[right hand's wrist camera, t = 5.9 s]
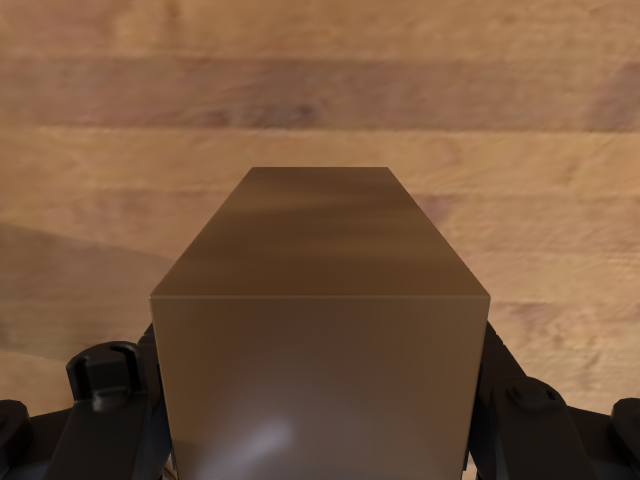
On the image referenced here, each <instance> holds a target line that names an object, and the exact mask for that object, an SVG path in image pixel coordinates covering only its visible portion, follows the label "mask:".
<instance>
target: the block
mask: <svg viewBox="0 0 640 480" xmlns="http://www.w3.org/2000/svg"><path fill="white" fill-rule="evenodd" d="M490 299H491V297H490V295H489V293H488V292H487V291H486V290H485V288H484V287H483V286H482V285H481V283H480V282H479V281H478V280H477V278H476V277H475V276H474V275H473V273H472V272H471V271H470V270H469V268H468V267H467V266H466V265H465V263H464V262H463V261H462V260H461V258H460V257H459V256H458V255H457V253H456V252H455V251H454V250H453V248H452V247H451V246H450V245H449V243H448V242H447V241H446V240H445V238H444V237H443V236H442V235H441V233H440V232H439V231H438V230H437V228H436V227H435V226H434V225H433V223H432V222H431V221H430V220H429V218H428V217H427V216H426V215H425V213H424V212H423V211H422V210H421V208H420V207H419V206H418V205H417V203H416V202H415V201H414V200H413V198H412V197H411V196H410V195H409V193H408V192H407V191H406V190H405V188H404V187H403V186H402V185H401V183H400V182H399V181H398V180H397V178H396V177H395V176H394V175H393V173H392V172H391V171H390V170H389V168H388V167H252V168H251V169H250V171H249V172H248V173H247V174H246V176H245V177H244V178H243V179H242V181H241V182H240V183H239V184H238V186H237V187H236V188H235V189H234V191H233V192H232V193H231V194H230V196H229V197H228V198H227V199H226V200H225V202H224V203H223V204H222V205H221V207H220V208H219V209H218V210H217V212H216V213H215V214H214V215H213V217H212V218H211V219H210V220H209V222H208V223H207V224H206V225H205V227H204V228H203V229H202V230H201V232H200V233H199V234H198V235H197V237H196V238H195V239H194V240H193V242H192V243H191V244H190V245H189V247H188V248H187V249H186V250H185V252H184V253H183V254H182V255H181V257H180V258H179V259H178V260H177V262H176V263H175V264H174V265H173V267H172V268H171V269H170V270H169V271H168V273H167V274H166V275H165V276H164V278H163V279H162V280H161V281H160V283H159V284H158V285H157V286H156V288H155V289H154V290H153V291H152V293H151V294H150V295H149V303H150V309H151V315H152V321H153V328H154V334H155V340H156V346H157V352H158V359H159V365H160V371H161V377H162V383H163V390H164V396H165V402H166V408H167V414H168V421H169V427H170V433H171V439H172V445H173V452H174V458H175V464H176V470H177V476H178V480H462V474H463V467H464V461H465V455H466V449H467V442H468V436H469V430H470V424H471V418H472V411H473V405H474V399H475V393H476V386H477V380H478V374H479V368H480V362H481V355H482V349H483V343H484V337H485V330H486V324H487V318H488V312H489V306H490Z"/></svg>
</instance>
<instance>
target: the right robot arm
mask: <svg viewBox="0 0 640 480" xmlns="http://www.w3.org/2000/svg"><path fill="white" fill-rule="evenodd" d="M66 370H67V374H68V378H69V382H70V386H71V389H72V393H73V397H74V401H75V403H74V406H73V407H72V408H69V409H65V410H62V411H57V412H53V413H48V414H43V415H39V416H34V417H29V414H28V411H27V407H26V406H25V405H24V404H23V403H21V402H20V401H15V400H1V401H0V480H175V479H174V478H173V477H172V476H171V475H170V473H168V472H167V471H166V470H165V469H164V467H165V464H166V462H167V460H168V457H169V455H170V452H171V458H172V464H173V470H174V471H177V470H176V464H175V458H174V452H173V445H172V439H171V433H170V427H169V421H168V414H167V408H166V402H165V396H164V390H163V383H162V377H161V371H160V365H159V359H158V352H157V346H156V340H155V334H154V328H153V322H152V323H151V324H150V326H149V327H148V329H147V330H146V331H145V333H144V336H142V337H141V339H140V340H139V341H138V343H137V345H136V344H135V343H131V342H127V341H112V342H107V343H103V344H98V345H96V346H93V347H91V348H88V349H86V350H84V351H82V352H81V353H79V354H78V355H76V356H75V357H73V358H72V359H71V361H70V362H69V363H68V364H67V365H66ZM469 451H470V453H471V456H472V458H473V461H474V463H475V465H476V468H477V474H476V480H640V399H639V398H626V399H620V400H619V401H618V402H617V403H615V404H614V406H613V409H612V413H611V416H609V415H605V414H600V413H596V412H591V411H587V410H582V409H578V408H574V407H571V406H567V405H566V403H565V401H564V400H563V398H562V397H561V395H560V394H559V393H558V392H557V391H556V390H555V389H553V388H552V387H551V386H549V385H548V384H546V383H544V382H542V381H540V380H538V379H535V378H532V377H528V376H526V374H525V373H524V371H523V370H522V368H521V367H520V366H519V364H518V363H517V361H516V360H515V359H514V357H513V356H512V354H511V353H510V351H509V350H508V349H507V347H506V346H505V345H503V341H502V340H501V339H500V337H499V336H498V335H496V332H495V330H494V329H493V327H492V326H491V324H490V323H489V322H488V320H487V324H486V330H485V337H484V343H483V349H482V355H481V362H480V368H479V374H478V380H477V386H476V393H475V399H474V405H473V411H472V418H471V424H470V430H469V436H468V442H467V449H466V455H465V461H464V467H463V471H466V468H467V462H468V456H469Z"/></svg>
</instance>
